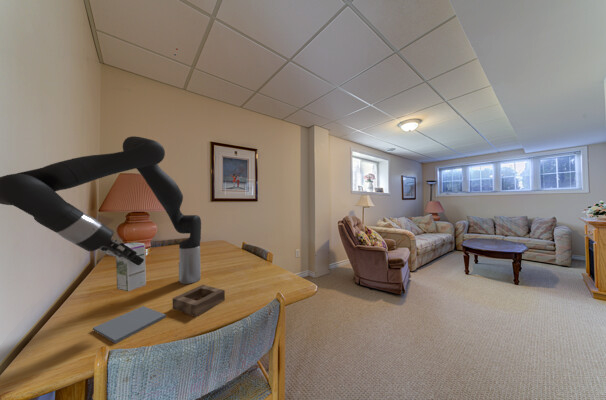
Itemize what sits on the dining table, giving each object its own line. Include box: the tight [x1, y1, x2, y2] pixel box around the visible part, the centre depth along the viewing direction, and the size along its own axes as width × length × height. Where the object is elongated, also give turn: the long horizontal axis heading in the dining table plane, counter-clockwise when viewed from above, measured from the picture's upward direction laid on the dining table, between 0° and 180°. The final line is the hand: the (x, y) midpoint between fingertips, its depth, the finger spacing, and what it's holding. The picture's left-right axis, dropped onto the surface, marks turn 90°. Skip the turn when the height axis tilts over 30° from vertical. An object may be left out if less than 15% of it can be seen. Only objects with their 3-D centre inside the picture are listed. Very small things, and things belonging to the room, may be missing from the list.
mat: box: [92, 305, 167, 345], centre depth 67 cm, size 14×14×1 cm
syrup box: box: [115, 242, 147, 292], centre depth 67 cm, size 6×6×14 cm
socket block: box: [172, 284, 226, 318], centre depth 79 cm, size 13×13×4 cm
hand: (135, 261), depth 68 cm, fingers closed on syrup box, 6 cm apart
